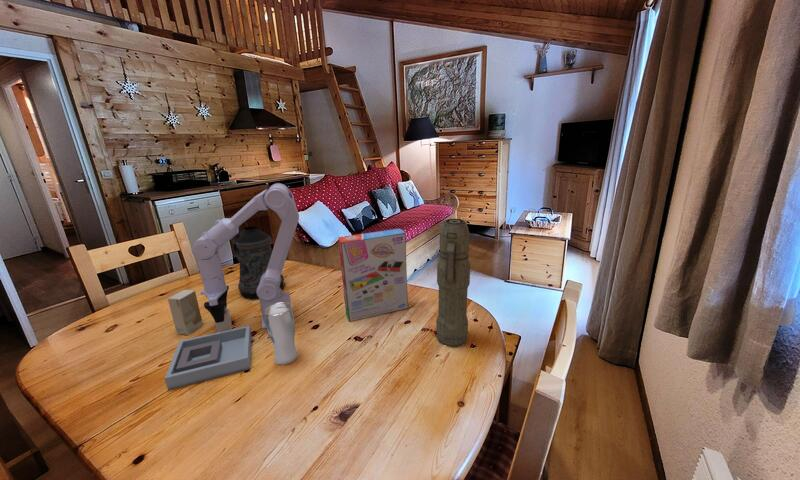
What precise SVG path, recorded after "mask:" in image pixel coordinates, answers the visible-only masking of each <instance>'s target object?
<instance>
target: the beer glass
mask: <svg viewBox="0 0 800 480" xmlns="http://www.w3.org/2000/svg"><path fill="white" fill-rule="evenodd" d="M291 306H292V303H291V304H289V303H286V302H280V303H275V304H272V305H270V306H268V307H267V308H266V309H265V321H266V327H267V328H266V330H267V334H268V337H269V339H270V342H271V344H272V346H273V350H274V351H273V352H274V354H273V360H274V363H276V364H277V365H281V366H282V365H288V364H291V363H292V362H295V360H297V358H298V357H299V354H298V353H299V352H298V351H297V346H296V344H295V337H296V336H295V333H296V324H295V323H296V322H295V317H294V313H293V312H294V310H293V311H292V307H293V306H292V307H291Z"/></svg>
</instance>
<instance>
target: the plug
mask: <svg viewBox="0 0 800 480" xmlns="http://www.w3.org/2000/svg"><path fill="white" fill-rule="evenodd" d="M213 320H214V319H213ZM213 322H214V324H215V325H214V326H215V329H216V333H217V332H222V331H226V330H231V329H232V325H233V322H232V317H231V314H230V309H229V308H226V306H224V322H219V323H216V322H215V320H214V321H213Z"/></svg>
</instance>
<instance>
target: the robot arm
mask: <svg viewBox="0 0 800 480" xmlns="http://www.w3.org/2000/svg"><path fill="white" fill-rule="evenodd" d="M296 204H297V203H296V201H295V198H294V195H293V193H292V191H291V190H290V189H289V187H288V186H287V185H285V184H283V183H280V182H276V183H273V184H272V185H270V186H269V188H266V189H264V190H263V191H261V192H260V193H258V194H256V195H255V196H254V197H253V198H251V199H250V201H248V202H247V203H246V204H245V205H244V206H243V207H242V208H240V210H238V211H237V212H236V213H235V214H233V216H231V217H229V218H227V217H225V218H224V217H223V218H222V219H217V220H216V221H215V222H214V225H213V226H212V227H211V228H210V229H208V230H207V231H203V232H202V234H201V236H200V237H199V238H198V239H196V240H195V241H194V242H193V244H192V246H191V253H192V255H194V257H195V258H196V259H197V263H198V264H197V265H198V269H199V273H200V277H201V281H202V285H203V289H201V290H200V291H199V294H200V295H205V296H206V298H207V299H208V301H206V302H204V304H203V308H204V309H205V310H207V311H208V312H209V313H210V315H211V316H212V318H213V320H215V321H214V323H215V322H216V323H219V322H224V306H226V309H228V308H227V307H228V299H227V298H228V291H229V288H230V286H229V285H226V281H225V274H224V271H223V266H222V260H221V257H220V254H219V253H220V252H219V249H221V248H222V247H223V246H225V245H226V244H227V243H228V242H230V240H232V239H234V238H235V237H236V235H237V234H238V232H239V231H240V230H239V228H240V226H241V225H242V224H243V223H245V222H246V221H247V220H249V219H250V218H251V217H253V216H254V215H255V214H257V212H259V211H268V210H269V209H271V210H272V211H273V212H274V213H276V215H277V216H278V217H279V218H280V220H281V224H280V225H279V230H278V232H277V236H276V239H275V242H274V245H273V248H272V254H271V257H270V261H269V264H268V267H267V270H266V272H265V273H264V274H263V275H262V276H261V279H260V283H259V286H258V287H257V291H256V292H257V296H258V297H259V299H258V301H259V305H260V311H261V329H267V327H266V321H265V309H266V308H267V307H268V306H270V305H272V304H275V303H280V302H286V303H289V304H291V307H292V311H293V314H294V312H295V311H294V307H293V306H292V301H291V299H292V298H291V294H290V291H283V290H282V289H281V288H280V287H279V286H280V283H281V274H282V272H283V269H284V267H285V263H286V261H287V257H288V254H289V251H290V249H291V245H292V241H293V239H294V235H295V232H296V230H297V226H298V223H299V220H300V214H299V211H298V208H297V205H296Z"/></svg>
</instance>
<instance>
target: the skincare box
mask: <svg viewBox="0 0 800 480" xmlns="http://www.w3.org/2000/svg"><path fill="white" fill-rule="evenodd" d="M167 301H168V302H167V303H168V306H169V310H170V312H171V313H170V314H171V316H172V320H173V324H174V328H175V332H176V334H177V335H186V336H188V335H190V334H192V333H193V332H195V331H197V329H199V328H201V326H203V325H204V322H203V319H202V315H201V310H200V306H199V302H198V298H197V293H196V290H191V289H183V290H181V291H178V292H177V293H175V294H173V295H172V296H170V297H168V298H167Z"/></svg>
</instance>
